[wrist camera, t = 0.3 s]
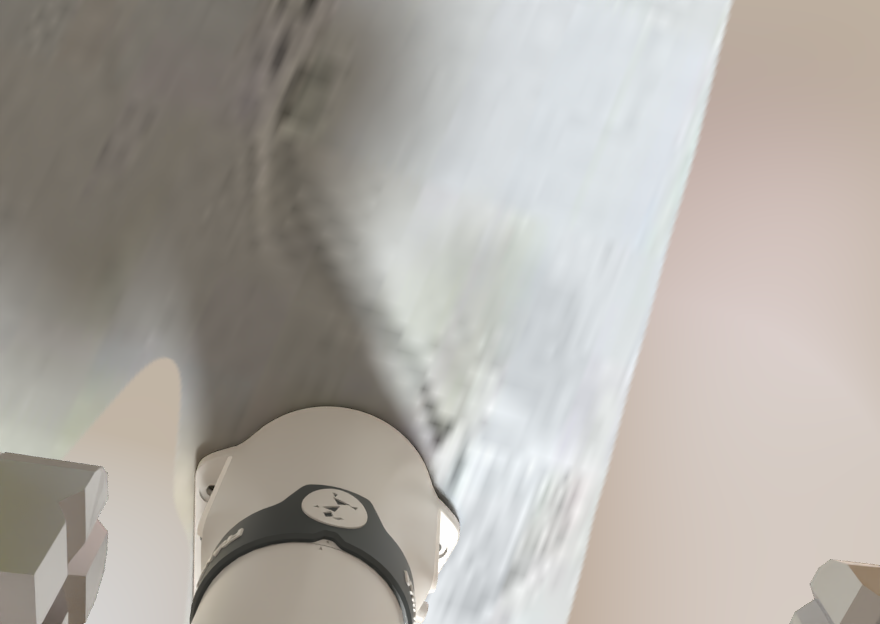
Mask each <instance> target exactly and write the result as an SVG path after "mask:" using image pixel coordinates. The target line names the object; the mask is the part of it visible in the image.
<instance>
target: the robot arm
mask: <svg viewBox="0 0 880 624" xmlns="http://www.w3.org/2000/svg"><path fill="white" fill-rule="evenodd" d="M210 485H214V486H215V487H214V489H213V491H212V490H211V489H210V488H209V486H210ZM107 500H108V473H107V472H106V471H105V469H104V468H103V467H102V466H96V465H89V464H82V463H75V462H69V461H62V460H55V459H49V458H42V457H35V456H29V455H22V454H15V453H8V452H5V453H1V452H0V624H84V623H85V622H86V620H87V618H88V616H89V614H90V611H91V609H92V607H93V605H94V602H95V600H96V597H97V594H98V590H99V587H100V583H101V580H102V577H103V573H104V569H105V562H106V555H107V543H108V531H107V530H106V529H105V527H104V526H103V525H102V524H101V522H100V521H99V520H98V517H99V515H100V513H101V511H102V509H103V508H104V506H105V504H106V502H107ZM459 535H460V524H459V522H458V520H457V518H456V517H455V515H454V514H453V513H452V512H451V510H450V509H449V508H448V507H447V506H446V505H445V504H444V503H443V502H442V501H441V500H440V499H439V498H438V496H437V494H436V493H435V490H434V488H433V485H432V482H431V479H430V476H429V473H428V470H427V468H426V466H425V464H424V462H423V460H422V458H421V456H420V455H419V453H418V452H417V450H416V449H415V448H414V446H413V445H412V444H411V443H410V442H409V440H408V439H407V438H405V437H404V436H403V435H402V434H401V433H400V432H399V431H398V430H396V429H395V428H394V427H392V426H391V425H389V424H388V423H386V422H384V421H382V420H381V419H379V418H377V417H374V416H372V415H370V414H367V413H364V412H361V411H358V410H354V409H349V408H343V407H330V406H324V407H311V408H306V409H301V410H297V411H294V412H291V413H288V414H285V415H283V416H281V417H279V418H277V419H275V420H273V421H271V422H269V423H268V424H266V425H265V426H263V427H262V428H261V429H260V430H258V431H257V432H256V433H255V434H253V435H252V436H251V437H250V438H249V439H247V440H246V441H244V442H243V443H241V444H239V445H238V446H234V447H230V448H227V449H223V450H220V451H217V452H214V453H211V454H209V455H207V456H205V457H204V458H203V459H202V460H201V461H200V463H199V465H198V468H197V470H196V474H195V524H194V589H193V603H192V607H191V614H190V624H415V622H416V623H422V622H423V621H424V619H425V617H426V614H427V611H428V603H427V602H425V599H426V597H427V595H428V593H432V592H434V591H435V588H436V585H437V579H438V574H439V572H440V570H441V569H442V567H443V565H444V564H445V562H446V560H447V559H448V557H449V556H450V554H451V552H452V551H453V549H454V547H455V546H456V544H457V542H458V540H459ZM439 543H440V545H439ZM810 586H811V590H812V593H813V596H814V600H813V601H811V602H809V603H808V604H806V605H805V606H803V607H802V608H800V609H799V610H797V611H796V612H795V613H794V615H793V617H792V619H791V622H790V624H880V565H874V564H866V563H857V562H850V561H841V560H833V559H830V560H829V561H827V562H826V563H825V564H823V565H822V566H821V567H819V568H818V570H817V572H816V574H815V575H814V577H813V579H812V581H811V583H810Z"/></svg>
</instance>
